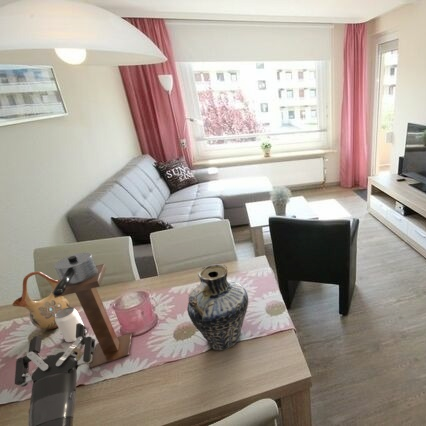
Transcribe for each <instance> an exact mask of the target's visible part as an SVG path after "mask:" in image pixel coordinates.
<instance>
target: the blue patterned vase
mask: <svg viewBox="0 0 426 426" xmlns="http://www.w3.org/2000/svg"><path fill="white" fill-rule="evenodd" d="M228 270H229V269H228V266H226V265H225V264H222V263H213V264H210V265H207V266H204V267H202V268H201V269H200V270H199V271H198V273H197V276H198V278H199V280H200V283H199V285H198V286H196V287H195V288H193V289H191V291H189V293H188V303H187V314H188V317H189V319H190V321H191V323H192V324H193V326H194V327H195V328H196V329H197V330H198V331H199V333H200V334H201V335H202V337H203V338H204V339H205V340H206V341H207V344H208V345H209V346H210V348H211V349H213V350H216V351H222V350H227V349H230V348H231V347H233V346H234V345H236V344H237V342H238V341H239V340H240V338H241V332H242V328H243V324H244V319H245V317H246V314H247V312H248V306H249V295H248V291H247V290H246V288H245V287H244V286H243V285H242V284H240V283H239V282H237V281H234V280H230V279H228Z"/></svg>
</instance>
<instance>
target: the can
mask: <svg viewBox="0 0 426 426" xmlns="http://www.w3.org/2000/svg"><path fill="white" fill-rule="evenodd" d="M55 322H56V324H57V326H58V327H57V328H58V329H59V332H60V333H61V336H62V337H63V339H64V341H65V342H66V343H72V342H73V343H74V342H75V341H76V339H77V338H76V324H78V323H81V324H83V325H84V323H83V320H82V318H81V316H80V314H79V312H78V310H77V309H75V307H73V306H71V307H68V308H65V309H62V310H60V311H59V312H57V313H56V314H55ZM84 326H85V325H84Z"/></svg>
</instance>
